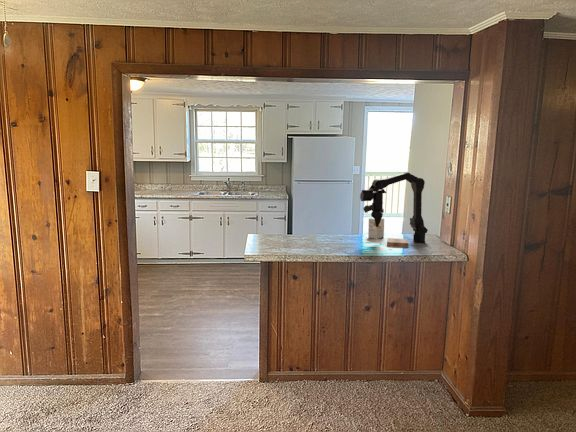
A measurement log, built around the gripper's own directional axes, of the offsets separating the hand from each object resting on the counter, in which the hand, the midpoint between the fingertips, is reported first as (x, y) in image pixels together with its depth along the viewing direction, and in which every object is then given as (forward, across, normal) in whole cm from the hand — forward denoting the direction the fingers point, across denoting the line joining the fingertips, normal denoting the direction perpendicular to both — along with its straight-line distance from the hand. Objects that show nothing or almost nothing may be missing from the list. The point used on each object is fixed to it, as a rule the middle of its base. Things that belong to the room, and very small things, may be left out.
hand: (377, 226), depth 251 cm
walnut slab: (+11, 0, +12) cm, 17 cm away
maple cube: (+1, 0, 0) cm, 1 cm away
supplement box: (+11, -19, -2) cm, 22 cm away
